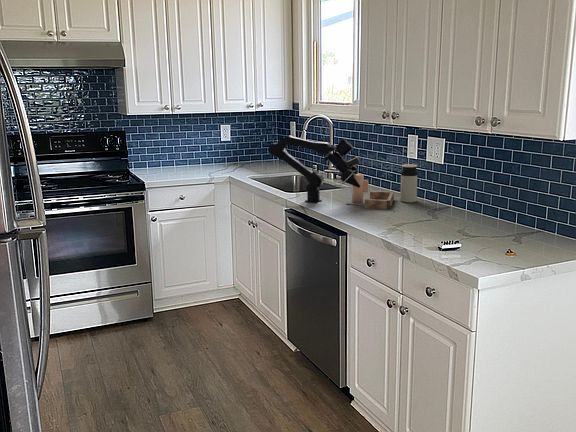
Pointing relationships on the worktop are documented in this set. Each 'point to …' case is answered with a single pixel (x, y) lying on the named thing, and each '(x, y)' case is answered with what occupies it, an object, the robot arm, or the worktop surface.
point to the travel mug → (408, 183)
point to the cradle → (379, 200)
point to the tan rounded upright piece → (358, 192)
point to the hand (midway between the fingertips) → (361, 185)
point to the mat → (355, 203)
